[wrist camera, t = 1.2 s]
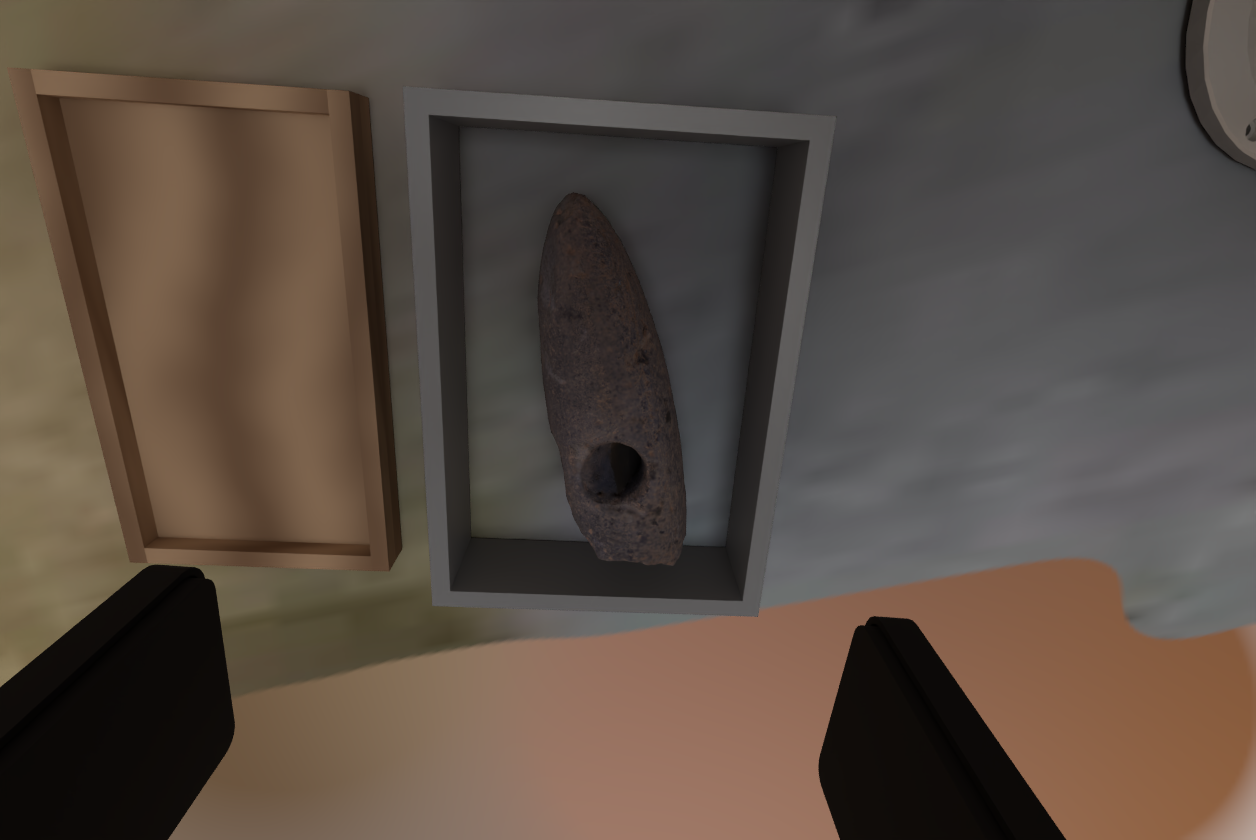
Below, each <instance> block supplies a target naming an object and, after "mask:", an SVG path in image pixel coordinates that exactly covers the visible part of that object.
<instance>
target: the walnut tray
mask: <svg viewBox="0 0 1256 840" xmlns="http://www.w3.org/2000/svg"><path fill="white" fill-rule="evenodd" d="M7 69H8V73H9V77H10V81H11V85H12V89H13V93H14V97H15V101H16V105H17V109H18V113H19V117H20V121H21V125H22V129H23V133H24V137H25V141H26V145H27V149H28V154H29V158H30V162H31V166H32V170H33V174H34V178H35V182H36V186H37V190H38V194H39V198H40V202H41V206H42V210H43V214H44V218H45V222H46V226H47V230H48V234H49V238H50V242H51V246H52V250H53V254H54V258H55V262H56V266H57V270H58V274H59V278H60V282H61V286H62V290H63V294H64V298H65V302H66V306H67V310H68V314H69V318H70V322H71V326H72V330H73V335H74V339H75V343H76V347H77V351H78V355H79V359H80V363H81V367H82V371H83V375H84V379H85V383H86V387H87V391H88V395H89V399H90V403H91V407H92V411H93V415H94V419H95V423H96V427H97V431H98V435H99V439H100V443H101V447H102V451H103V455H104V459H105V463H106V467H107V471H108V475H109V479H110V483H111V487H112V491H113V495H114V499H115V503H116V507H117V511H118V515H119V520H120V524H121V528H122V532H123V536H124V540H125V544H126V548H127V552H128V556H129V560H130V562H136V563H165V564H193V565H221V566H250V567H278V568H306V569H335V570H363V571H390V569H391V567H392V566H393V564H394V562H395V560H396V559H397V557H398V555H399V553H400V552H401V550H402V541H401V528H400V514H399V501H398V487H397V474H396V461H395V447H394V434H393V420H392V407H391V393H390V380H389V367H388V353H387V340H386V326H385V313H384V299H383V286H382V273H381V259H380V246H379V232H378V219H377V205H376V192H375V179H374V165H373V152H372V138H371V125H370V111H369V98H367V97H364V96H362V95H359V94H356V93H353V92H350V91H342V90H327V89H313V88H298V87H284V86H269V85H255V84H240V83H225V82H211V81H196V80H182V79H167V78H153V77H138V76H123V75H109V74H94V73H80V72H65V71H51V70H36V69H21V68H7Z"/></svg>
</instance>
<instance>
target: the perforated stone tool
mask: <svg viewBox="0 0 1256 840" xmlns="http://www.w3.org/2000/svg"><path fill="white" fill-rule="evenodd" d="M538 313H539V327H540V340H541V364H542V375H543V384H544V391H545V398H546V406H547V413H548V419H549V424H550V429H551V433H552V434H553V436H554V438H555V440H556V442H557V445H558V448H559V451H560V456H561V461H562V466H563V470H564V479H565V486H566V496H567V499H568V502H569V504H570V507H571V510H572V515H573V517H574V519H575V521H576V523H577V525H578V526H579V529H580V531H581V533H582V534H583V535H584V536H585V538H586V539H588V541H589V543H590V544H591V546H592V547H593V549H594V550H595V553H596V555H597V557H598V558H599V559H601V560H606V561H621V560H623V561H628V562H635V563H637V562H641V563H643V564H645V565H655V564H660V563H662V564H664V565H668V566H669V565H672V566H673V565H674V564H675V563H676V560H677V559H679V556H680V553H681V552H682V545H683V540H684V538H685V535H686V491H685V485H684V474H683V461H682V451H681V442H680V435H679V430H678V423H677V417H676V411H675V406H674V401H673V395H672V390H671V385H670V380H669V375H668V371H667V366H666V362H665V358H664V354H663V351H662V347H661V344H660V341H659V337H658V334H657V332H656V328H655V325H654V322H653V318H652V315H651V313H650V310H649V307H648V304H647V301H646V298H645V296H644V293H643V290H642V288H641V285H640V282H639V280H638V277H637V275H636V273H635V270H634V268H633V266H632V263H631V261H630V259H629V257H628V255H627V253H626V251H625V249H624V247H623V245H622V243H621V241H620V239H619V238H618V236H617V234H616V233H615V231H614V229H613V228H612V226H611V225H610V223H609V221H608V220H607V219H606V217H605V216H604V215H603V214H602V213H601V211H600V210H599V209H598V208H597V207H596V206H595V205H594V204H593V203H592V202H591V201H590V200H589V199H588V198H587V197H586V196H585V195H582V194H578V193H574V192H573V193H571V194H568V195H567V196H565V198H564V199H563V200H562V202H561V203H560V204H559V205H558V206H557V208H556V210H555V212H554V214H553V216H552V219H551V222H550V225H549V228H548V231H547V235H546V240H545V243H544V248H543V253H542V259H541V266H540V275H539V285H538Z"/></svg>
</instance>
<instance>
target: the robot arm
mask: <svg viewBox="0 0 1256 840" xmlns="http://www.w3.org/2000/svg"><path fill="white" fill-rule="evenodd" d="M1186 73H1187V79H1188V85H1189V91H1190V97H1191V100H1192V102H1193V105H1194V107H1195V110H1196V113H1197V115H1198V118H1199V120H1200V123H1201V124H1202V126H1203V127H1204V128H1205V130H1206V131H1207V133H1208V134H1209V136H1210V137H1211V138H1212V140H1213V141H1214V143H1215V144H1216V145H1217V146H1218V147H1220V148H1221V149H1222V150H1223V151H1224V152H1226V153H1227V154H1228V155H1229V156H1231V157H1232V158H1233V159H1234V160H1236V161H1238V162H1240V163H1242V164H1244V165H1247V166H1249V167H1251V168H1253V169H1255V170H1256V0H1193V3H1192V8H1191V13H1190V18H1189V23H1188V29H1187V34H1186ZM234 729H235V721H234V714H233V708H232V700H231V693H230V686H229V679H228V672H227V665H226V658H225V651H224V644H223V637H222V630H221V623H220V616H219V609H218V602H217V595H216V588H215V585H214V583H213V582H212V580H209V579H205V577H204V574H203V572H202V571H201V570H200V569H198V568H195V567H183V566H169V565H151V566H148V567H147V568H145V569H143V570H142V571H141V572H140V573H138V574H137V575H136V576H135V577H133V578H132V579H131V580H130V581H129V582H127V583H126V584H125V585H124V586H123V587H121V588H120V589H119V590H118V591H116V592H115V593H114V594H113V595H112V596H110V597H109V598H108V599H107V600H106V601H104V602H103V603H102V604H101V605H99V606H98V607H97V608H96V609H95V610H93V611H92V612H91V613H90V614H89V615H87V616H86V617H85V618H84V619H83V620H81V621H80V622H79V623H78V624H76V625H75V626H74V627H73V628H72V629H70V630H69V631H68V632H67V633H66V634H64V635H63V636H62V637H61V638H59V639H58V640H57V641H56V642H55V643H53V644H52V645H51V646H50V647H49V648H47V649H46V650H45V651H44V652H43V653H41V654H40V655H39V656H38V657H36V658H35V659H34V660H33V661H32V662H30V663H29V664H28V665H27V666H26V667H24V668H23V669H22V670H21V671H19V672H18V673H17V674H16V675H15V676H13V677H12V678H11V679H10V680H9V681H7V682H6V683H5V684H4V685H2V686H1V687H0V840H168V839H169V837H170V835H171V834H172V833H173V831H174V830H175V828H176V827H177V825H178V824H179V822H180V821H181V819H182V818H183V816H184V815H185V813H186V812H187V810H188V809H189V807H190V806H191V805H192V803H193V801H194V800H195V799H196V797H197V796H198V794H199V793H200V791H201V790H202V788H203V787H204V785H205V784H206V782H207V781H208V779H209V778H210V776H211V775H212V773H213V772H214V770H215V769H216V768H217V766H218V764H219V763H220V762H221V760H222V759H223V757H224V756H225V754H226V752H227V751H228V749H229V747H230V744H231V742H232V739H233V735H234ZM819 778H820V783H821V786H822V789H823V792H824V795H825V798H826V801H827V804H828V806H829V809H830V812H831V815H832V818H833V821H834V824H835V826H836V829H837V832H838V835H839V838H840V840H1066V839H1065V837H1064V836H1063V834H1062V833H1061V832H1060V830H1059V829H1058V827H1057V826H1056V825H1055V823H1054V821H1053V820H1052V819H1051V817H1050V816H1049V814H1048V813H1047V811H1046V810H1045V809H1044V807H1043V806H1042V804H1041V803H1040V801H1039V800H1038V798H1037V797H1036V796H1035V794H1034V793H1033V791H1032V790H1031V788H1030V787H1029V785H1028V784H1027V783H1026V781H1025V780H1024V778H1023V777H1022V776H1021V774H1020V772H1019V771H1018V770H1017V768H1016V767H1015V765H1014V764H1013V762H1012V761H1011V760H1010V758H1009V757H1008V755H1007V754H1006V752H1005V751H1004V749H1003V748H1002V747H1001V745H1000V744H999V742H998V741H997V739H996V738H995V737H994V735H993V734H992V732H991V731H990V729H989V728H988V727H987V725H986V724H985V722H984V721H983V719H982V718H981V716H980V715H979V714H978V712H977V711H976V709H975V708H974V706H973V705H972V703H971V702H970V701H969V699H968V698H967V696H966V695H965V693H964V692H963V690H962V689H961V688H960V686H959V685H958V683H957V682H956V680H955V679H954V678H953V676H952V675H951V673H950V672H949V670H948V669H947V668H946V666H945V665H944V663H943V662H942V660H941V659H940V657H939V656H938V654H937V653H936V652H935V650H934V649H933V647H932V646H931V644H930V643H929V642H928V640H927V639H926V638H925V636H924V634H923V633H922V632H921V630H920V629H919V627H918V626H917V625H916V623H915V622H914V621H913V620H910V619H904V618H890V617H876V616H874V617H870V618H869V620H868V621H867V623H866V625H865V626H863V625H860V626H858V627H857V628H856V629H855V632H854V635H853V638H852V642H851V646H850V649H849V653H848V657H847V660H846V663H845V667H844V671H843V674H842V678H841V681H840V685H839V689H838V693H837V696H836V699H835V703H834V707H833V710H832V714H831V717H830V721H829V725H828V728H827V732H826V736H825V739H824V743H823V746H822V750H821V753H820V758H819Z"/></svg>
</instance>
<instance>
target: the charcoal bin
mask: <svg viewBox="0 0 1256 840" xmlns="http://www.w3.org/2000/svg"><path fill="white" fill-rule="evenodd" d="M403 99H404V116H405V134H406V151H407V169H408V186H409V204H410V221H411V238H412V256H413V273H414V291H415V308H416V326H417V343H418V361H419V378H420V396H421V413H422V431H423V448H424V466H425V483H426V500H427V518H428V535H429V553H430V570H431V588H432V605H433V606H451V607H482V608H512V609H542V610H573V611H603V612H633V613H664V614H694V615H724V616H755V617H758V613H759V607H760V601H761V594H762V588H763V582H764V575H765V569H766V562H767V556H768V550H769V543H770V537H771V531H772V524H773V518H774V512H775V505H776V499H777V493H778V486H779V480H780V474H781V467H782V461H783V455H784V448H785V442H786V435H787V429H788V423H789V416H790V410H791V404H792V397H793V391H794V385H795V378H796V372H797V366H798V359H799V353H800V347H801V340H802V334H803V328H804V321H805V315H806V308H807V302H808V296H809V289H810V283H811V277H812V270H813V264H814V258H815V251H816V245H817V239H818V232H819V226H820V220H821V213H822V207H823V201H824V194H825V188H826V181H827V175H828V169H829V162H830V156H831V150H832V143H833V137H834V131H835V124H836V118H837V116H825V115H810V114H796V113H781V112H767V111H753V110H738V109H724V108H709V107H695V106H680V105H666V104H651V103H637V102H623V101H608V100H594V99H579V98H565V97H550V96H536V95H522V94H507V93H493V92H478V91H464V90H449V89H435V88H420V87H406V86H403ZM459 126H464V127H479V128H494V129H509V130H524V131H539V132H554V133H569V134H584V135H599V136H614V137H629V138H644V139H659V140H674V141H689V142H704V143H719V144H734V145H749V146H764V147H778V149H777V156H776V164H775V172H774V179H773V187H772V195H771V202H770V210H769V218H768V226H767V233H766V241H765V249H764V256H763V264H762V272H761V279H760V287H759V295H758V302H757V310H756V318H755V325H754V333H753V341H752V348H751V356H750V364H749V372H748V379H747V387H746V395H745V402H744V410H743V418H742V425H741V433H740V441H739V448H738V456H737V464H736V471H735V479H734V487H733V495H732V502H731V510H730V518H729V525H728V533H727V541H726V547H702V546H682V552H681V553H680V556H679V559H677V560H676V563H675V564H674V565H673V566H672V565H669V566H668V565H664V564H662V563H660V564H655V565H645V564H643V563H641V562H637V563H635V562H628V561H623V560H621V561H606V560H601V559H599V558H598V557H597V555H596V553H595V550H594V549H593V547H592V546H591V544H590V543H589V542H569V541H543V540H516V539H490V538H471V516H470V484H469V451H468V418H467V385H466V353H465V320H464V287H463V254H462V222H461V189H460V156H459Z"/></svg>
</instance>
